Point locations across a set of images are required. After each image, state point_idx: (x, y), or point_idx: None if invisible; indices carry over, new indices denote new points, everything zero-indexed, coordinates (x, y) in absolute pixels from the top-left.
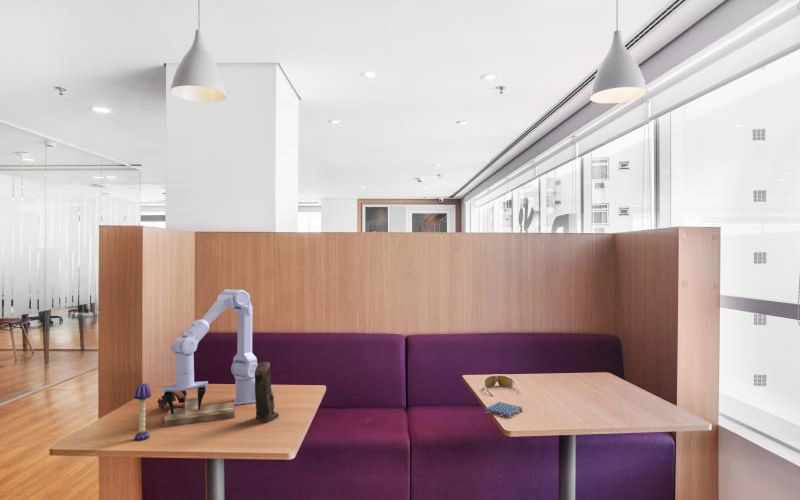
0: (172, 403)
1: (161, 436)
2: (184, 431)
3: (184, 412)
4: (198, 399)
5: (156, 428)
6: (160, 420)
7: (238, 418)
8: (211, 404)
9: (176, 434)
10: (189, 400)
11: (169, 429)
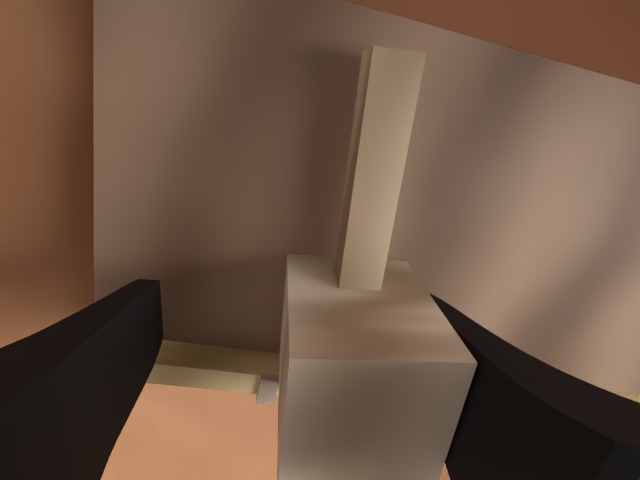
0: (98, 476)
1: (120, 471)
2: (259, 455)
3: (285, 207)
4: (452, 473)
5: (55, 321)
6: (49, 115)
7: None
8: (610, 78)
9: (211, 477)
10: (342, 440)
11: (162, 385)
